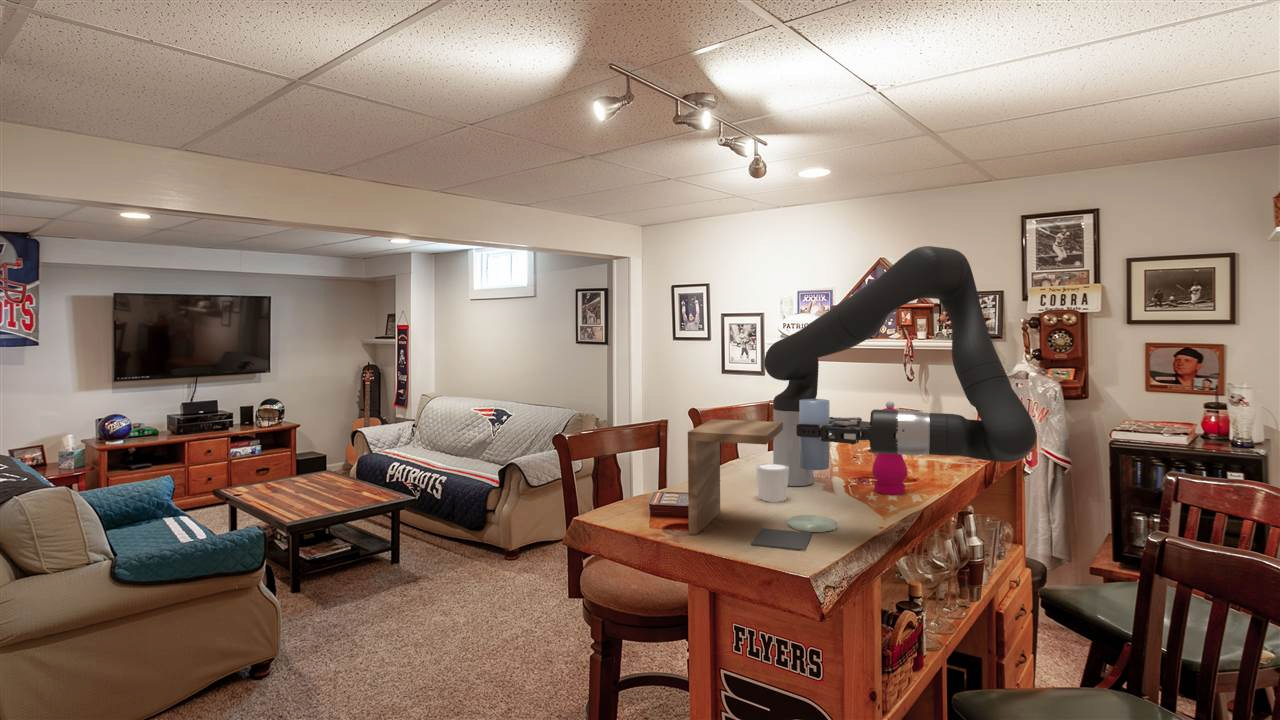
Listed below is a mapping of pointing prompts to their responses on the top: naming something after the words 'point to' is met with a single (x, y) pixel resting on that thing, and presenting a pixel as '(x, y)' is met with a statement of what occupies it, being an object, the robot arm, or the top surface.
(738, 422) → the shelf
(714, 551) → the top surface
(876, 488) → the pepper mill
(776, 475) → the white cup
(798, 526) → the coaster
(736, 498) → the top surface
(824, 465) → the blue pillar candle
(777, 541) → the drip mat
